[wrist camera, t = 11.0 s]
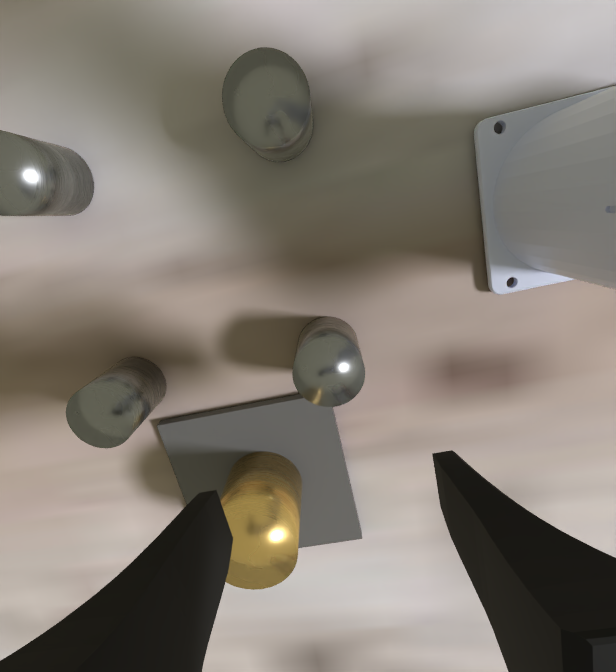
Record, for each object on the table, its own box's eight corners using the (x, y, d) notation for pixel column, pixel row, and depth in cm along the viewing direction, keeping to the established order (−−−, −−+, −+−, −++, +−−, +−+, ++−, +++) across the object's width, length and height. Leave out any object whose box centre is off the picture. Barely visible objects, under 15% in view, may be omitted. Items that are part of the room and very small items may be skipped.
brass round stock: (289, 443, 22) (281, 504, 17) (311, 506, 23) (308, 579, 19) (217, 461, 23) (190, 524, 18) (242, 521, 24) (222, 597, 19)
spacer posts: (304, 75, 17) (298, 36, 14) (362, 366, 21) (370, 399, 17) (18, 154, 19) (-60, 139, 15) (122, 413, 23) (81, 453, 19)
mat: (328, 388, 22) (328, 393, 21) (361, 531, 25) (362, 538, 24) (161, 420, 23) (156, 425, 22) (210, 553, 26) (208, 561, 25)
